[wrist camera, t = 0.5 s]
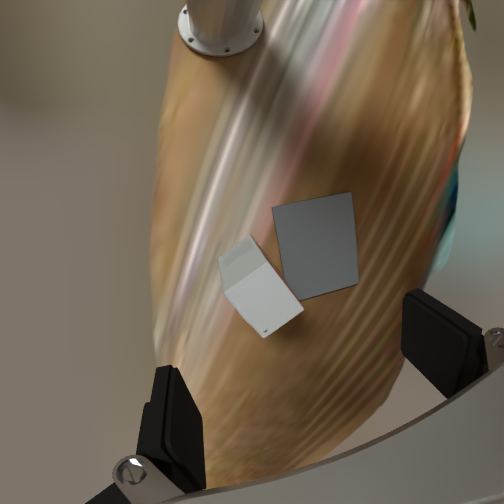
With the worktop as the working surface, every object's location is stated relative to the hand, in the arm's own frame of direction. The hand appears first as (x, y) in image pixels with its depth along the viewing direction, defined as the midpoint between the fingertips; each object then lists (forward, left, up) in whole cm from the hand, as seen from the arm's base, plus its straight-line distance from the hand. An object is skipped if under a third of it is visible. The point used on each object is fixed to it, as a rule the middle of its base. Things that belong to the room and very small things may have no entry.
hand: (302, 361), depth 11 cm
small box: (+9, +1, -34) cm, 35 cm away
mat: (+9, +13, -34) cm, 37 cm away
